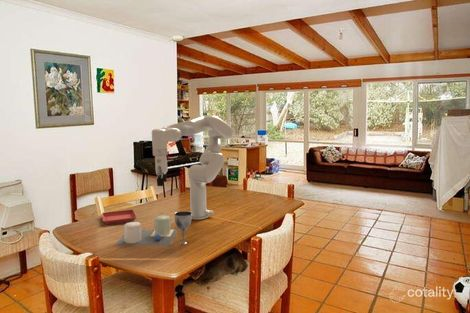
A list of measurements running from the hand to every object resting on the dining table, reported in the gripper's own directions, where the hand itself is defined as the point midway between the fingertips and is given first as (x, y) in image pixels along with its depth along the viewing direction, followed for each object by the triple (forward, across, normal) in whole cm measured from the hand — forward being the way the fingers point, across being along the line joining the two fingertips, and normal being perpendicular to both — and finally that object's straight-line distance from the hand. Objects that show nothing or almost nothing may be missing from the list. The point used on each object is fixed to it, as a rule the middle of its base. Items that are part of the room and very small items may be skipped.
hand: (162, 183), depth 178 cm
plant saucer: (+24, +13, +29) cm, 40 cm away
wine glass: (+24, -26, -13) cm, 38 cm away
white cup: (+23, -22, +12) cm, 33 cm away
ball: (+21, -22, 0) cm, 31 cm away
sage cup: (+23, -12, -1) cm, 26 cm away
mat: (+24, -18, +5) cm, 30 cm away
